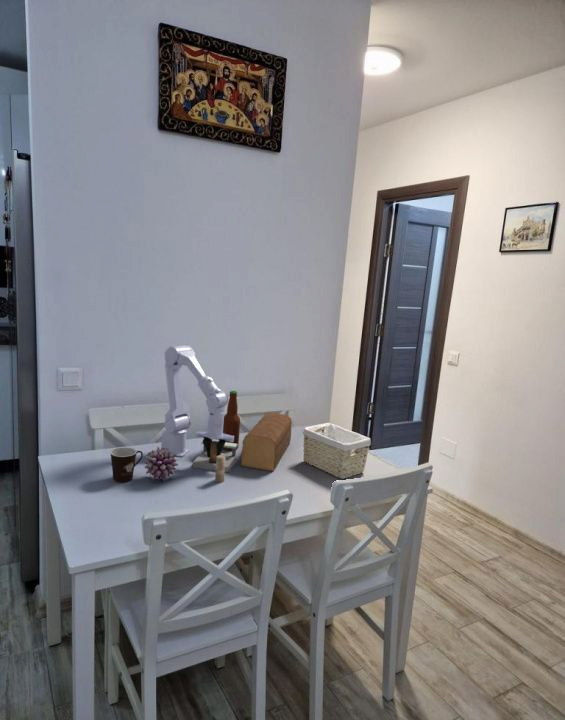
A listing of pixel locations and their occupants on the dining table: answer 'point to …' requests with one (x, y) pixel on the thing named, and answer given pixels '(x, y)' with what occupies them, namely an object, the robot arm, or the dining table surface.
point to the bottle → (232, 420)
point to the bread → (266, 442)
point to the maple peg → (220, 468)
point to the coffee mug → (123, 463)
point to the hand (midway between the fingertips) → (213, 457)
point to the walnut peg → (213, 452)
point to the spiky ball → (161, 463)
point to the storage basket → (335, 449)
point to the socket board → (203, 463)
